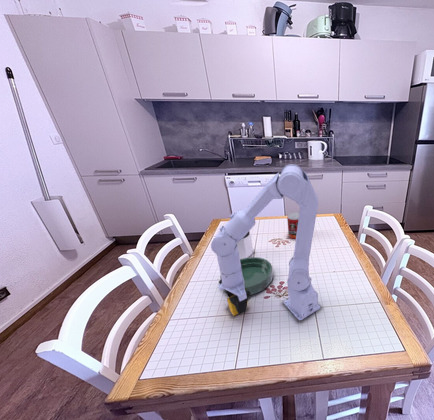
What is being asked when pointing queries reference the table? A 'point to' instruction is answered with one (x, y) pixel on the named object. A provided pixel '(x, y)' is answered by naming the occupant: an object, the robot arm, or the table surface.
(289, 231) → the canned food
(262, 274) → the bowl
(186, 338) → the table surface
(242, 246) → the jar
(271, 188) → the robot arm
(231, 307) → the yellow cube
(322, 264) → the table surface
